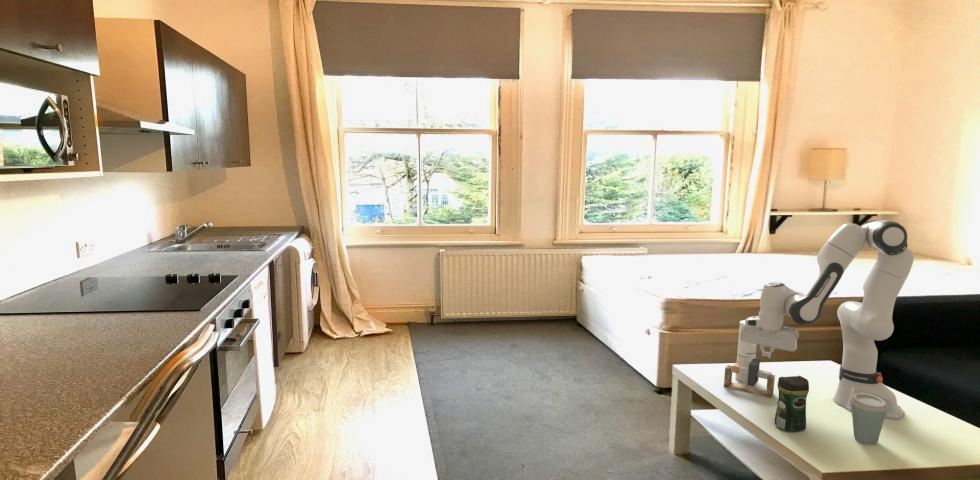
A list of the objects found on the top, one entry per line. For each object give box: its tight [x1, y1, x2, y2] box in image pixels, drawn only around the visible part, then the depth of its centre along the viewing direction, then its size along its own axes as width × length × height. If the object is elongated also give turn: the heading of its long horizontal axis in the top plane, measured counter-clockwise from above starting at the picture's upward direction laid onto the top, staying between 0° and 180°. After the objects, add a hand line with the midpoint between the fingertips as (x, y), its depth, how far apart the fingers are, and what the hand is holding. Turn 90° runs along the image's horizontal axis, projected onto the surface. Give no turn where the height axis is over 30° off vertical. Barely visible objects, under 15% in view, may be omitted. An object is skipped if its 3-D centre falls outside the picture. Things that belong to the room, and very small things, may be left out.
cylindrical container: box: [735, 319, 758, 383], centre depth 242 cm, size 7×7×25 cm
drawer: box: [723, 364, 776, 398], centre depth 231 cm, size 18×4×8 cm, turn 54°
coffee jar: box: [774, 375, 810, 433], centre depth 199 cm, size 10×8×19 cm
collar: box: [746, 358, 761, 388], centre depth 230 cm, size 2×8×9 cm, turn 144°
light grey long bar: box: [728, 363, 773, 380], centre depth 231 cm, size 16×3×3 cm, turn 54°
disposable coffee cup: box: [850, 393, 888, 446], centre depth 190 cm, size 11×11×15 cm
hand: (766, 356), depth 226 cm, fingers closed
